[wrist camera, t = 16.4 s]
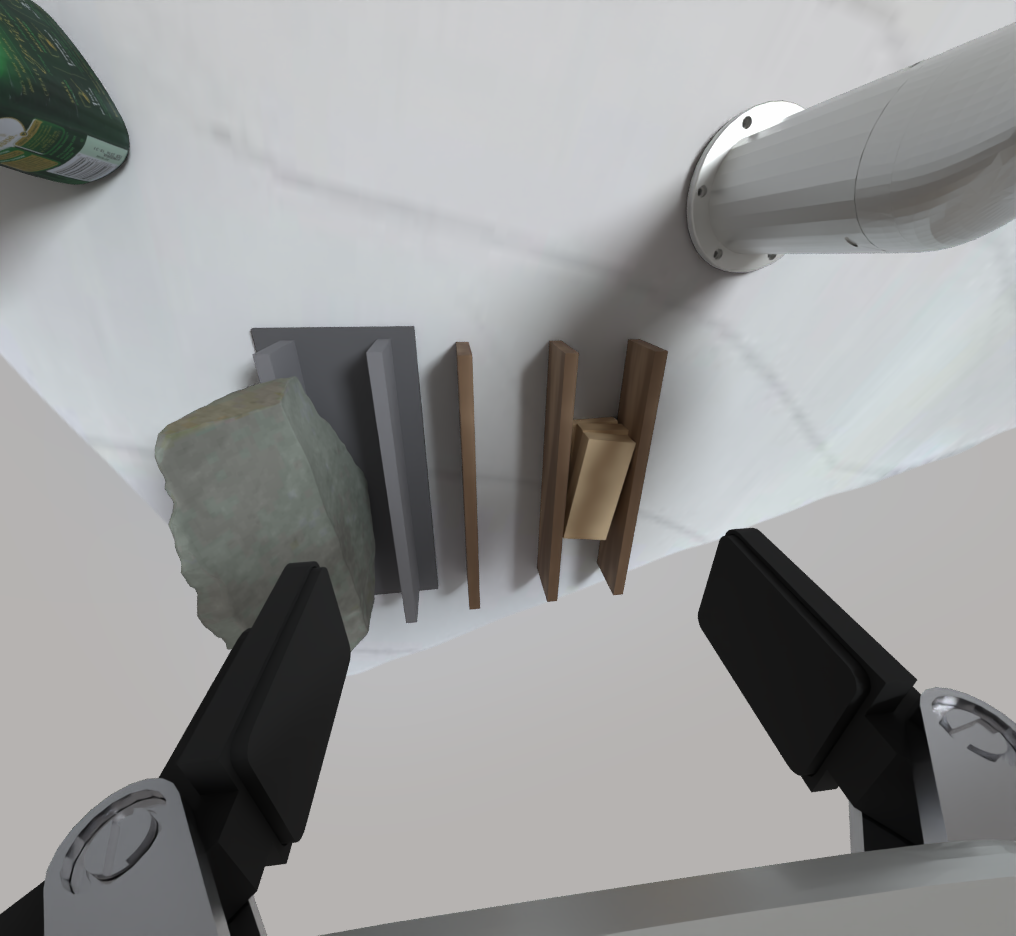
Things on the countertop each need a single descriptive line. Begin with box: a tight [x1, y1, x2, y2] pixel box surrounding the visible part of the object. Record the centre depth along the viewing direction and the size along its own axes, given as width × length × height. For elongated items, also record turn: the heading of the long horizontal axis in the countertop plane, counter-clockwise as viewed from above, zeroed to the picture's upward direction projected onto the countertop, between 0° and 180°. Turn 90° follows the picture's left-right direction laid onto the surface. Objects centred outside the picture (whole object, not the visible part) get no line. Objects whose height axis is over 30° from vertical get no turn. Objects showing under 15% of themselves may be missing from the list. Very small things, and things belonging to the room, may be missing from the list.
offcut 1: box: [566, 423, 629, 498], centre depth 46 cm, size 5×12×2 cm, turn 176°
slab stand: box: [251, 326, 438, 623], centre depth 42 cm, size 14×32×7 cm, turn 0°
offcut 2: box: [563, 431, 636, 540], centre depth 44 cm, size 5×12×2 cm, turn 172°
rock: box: [155, 376, 375, 651], centre depth 35 cm, size 27×6×20 cm, turn 4°
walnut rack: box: [456, 339, 668, 609], centre depth 44 cm, size 19×29×6 cm, turn 0°
